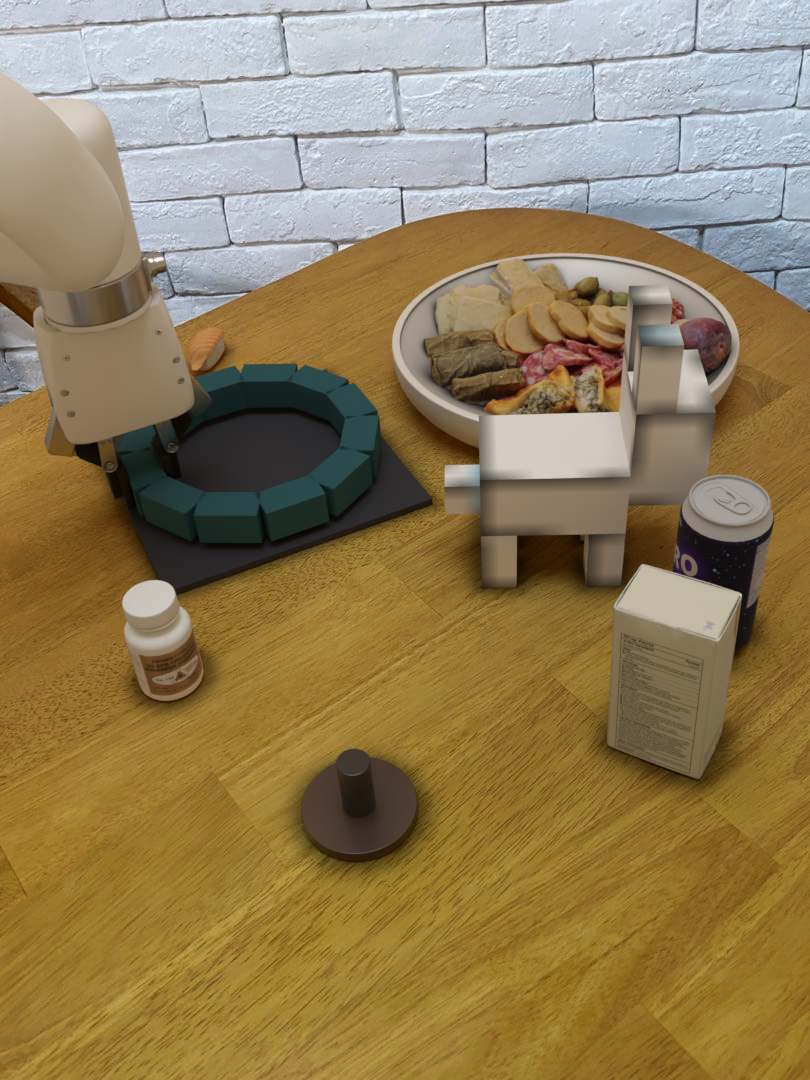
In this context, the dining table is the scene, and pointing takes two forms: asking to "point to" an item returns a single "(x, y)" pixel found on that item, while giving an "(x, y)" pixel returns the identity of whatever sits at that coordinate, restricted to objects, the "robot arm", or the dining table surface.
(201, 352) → the sushi
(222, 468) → the mat
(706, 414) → the toy llama
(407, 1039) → the dining table surface
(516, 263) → the bowl
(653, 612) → the cosmetic box
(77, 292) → the robot arm
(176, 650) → the pill bottle
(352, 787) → the ring stand
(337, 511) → the ring
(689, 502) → the beverage can
